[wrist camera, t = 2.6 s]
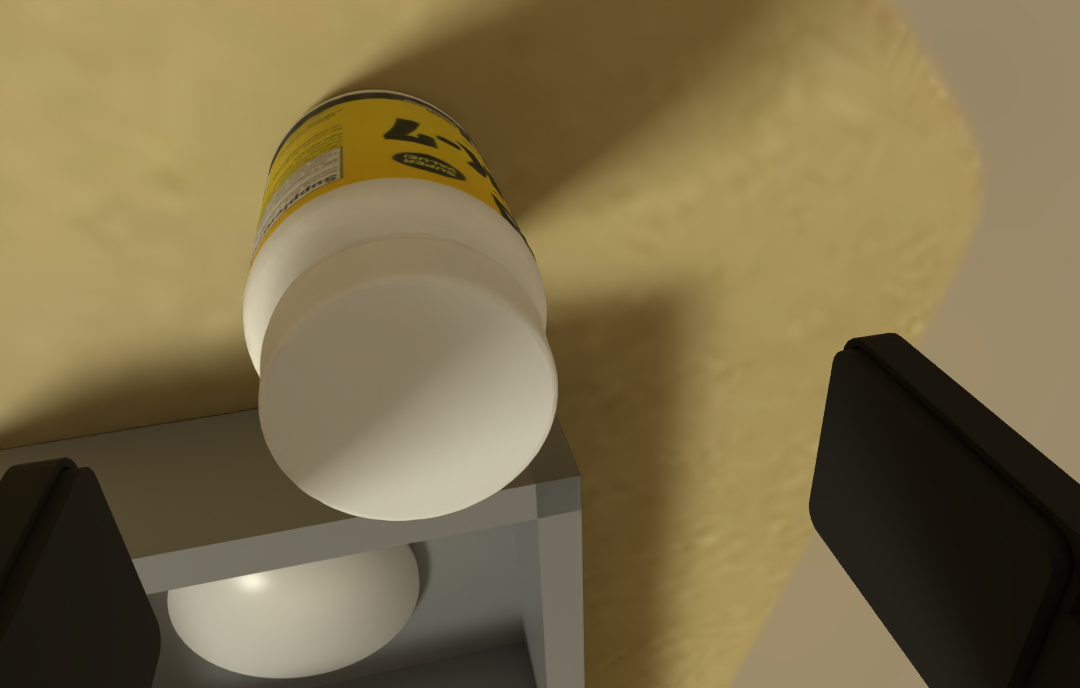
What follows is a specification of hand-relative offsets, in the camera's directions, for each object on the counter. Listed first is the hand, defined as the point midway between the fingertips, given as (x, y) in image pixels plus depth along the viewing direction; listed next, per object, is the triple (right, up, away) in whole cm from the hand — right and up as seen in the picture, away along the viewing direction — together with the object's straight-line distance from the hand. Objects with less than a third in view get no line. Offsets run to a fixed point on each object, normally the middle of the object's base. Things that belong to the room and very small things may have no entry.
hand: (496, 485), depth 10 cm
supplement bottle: (-3, +5, +7) cm, 10 cm away
